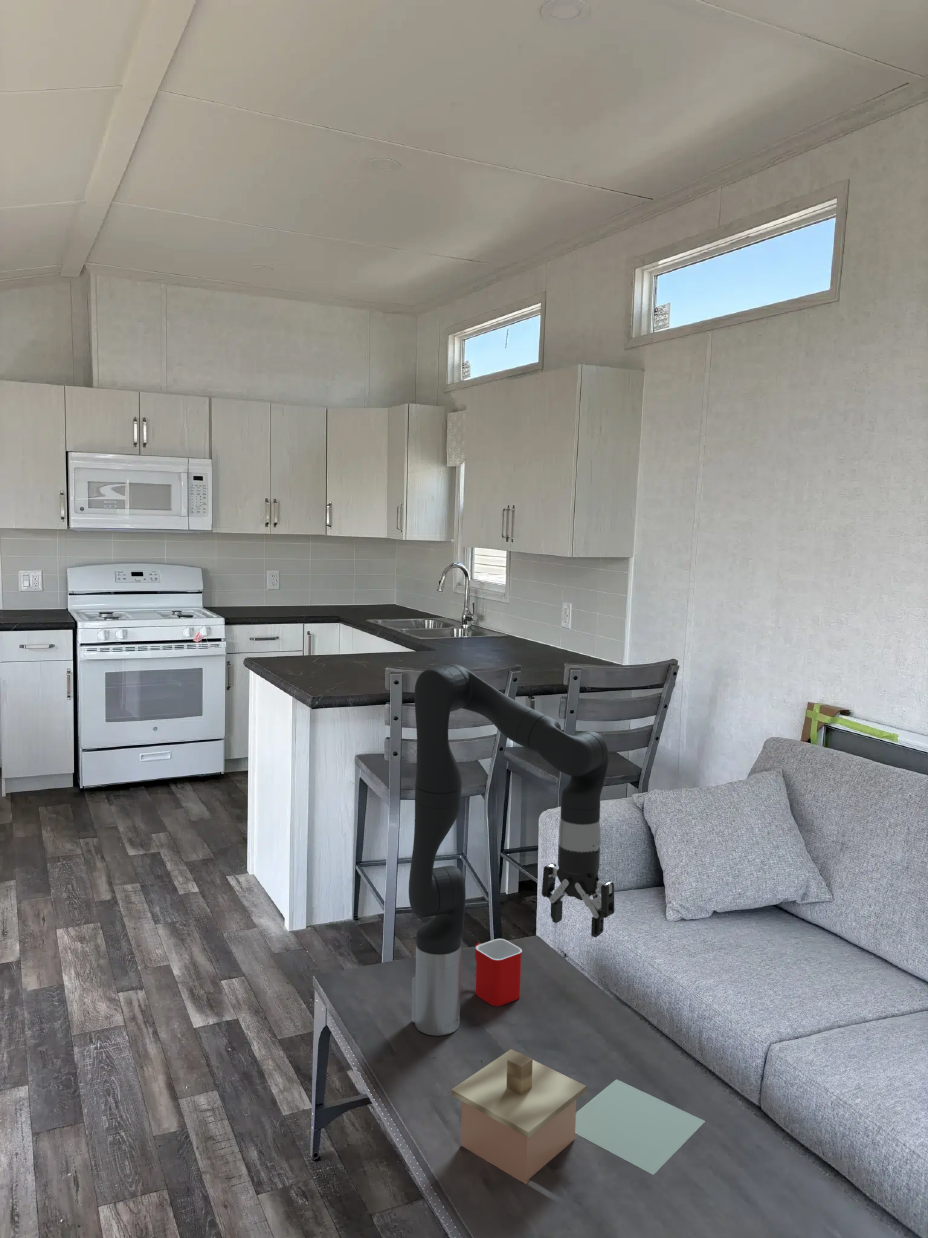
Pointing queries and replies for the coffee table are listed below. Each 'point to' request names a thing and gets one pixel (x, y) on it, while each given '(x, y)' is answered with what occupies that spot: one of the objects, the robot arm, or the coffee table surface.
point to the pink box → (516, 1141)
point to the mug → (498, 971)
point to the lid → (519, 1092)
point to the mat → (635, 1126)
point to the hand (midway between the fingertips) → (576, 928)
